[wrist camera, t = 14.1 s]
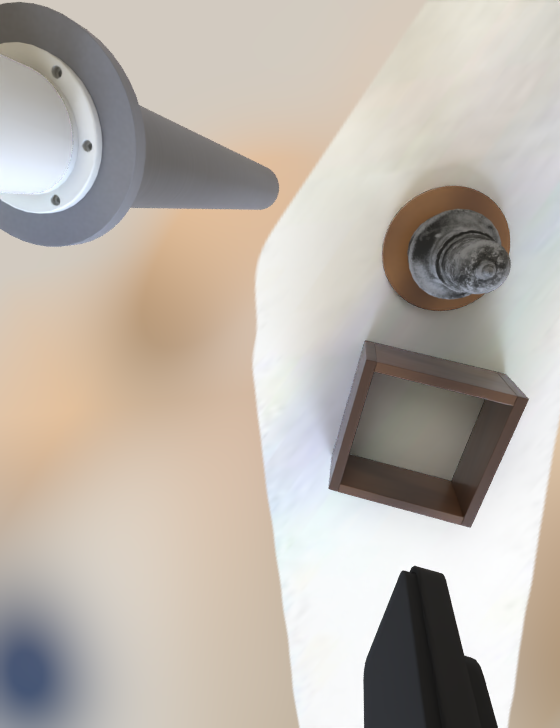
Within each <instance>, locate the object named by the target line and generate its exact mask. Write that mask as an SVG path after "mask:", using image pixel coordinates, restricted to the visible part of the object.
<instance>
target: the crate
mask: <svg viewBox="0 0 560 728" xmlns="http://www.w3.org/2000/svg"><path fill="white" fill-rule="evenodd" d="M374 372H377V373H381V374H385V375H389V376H393V377H397V378H401V379H406V380H410V381H414V382H418V383H422V384H426V385H430V386H434V387H438V388H442V389H446V390H450V391H454V392H458V393H462V394H467V395H471V396H475V397H479V398H483V399H485V401H484V404H483V406H482V409H481V411H480V413H479V416H478V418H477V421H476V423H475V425H474V428H473V430H472V433H471V435H470V438H469V440H468V442H467V445H466V447H465V450H464V452H463V455H462V457H461V459H460V462H459V464H458V467H457V469H456V471H455V474H454V476H453V479H452V481H449V480H445V479H441V478H438V477H434V476H430V475H426V474H422V473H419V472H415V471H411V470H407V469H404V468H400V467H396V466H392V465H388V464H385V463H381V462H377V461H373V460H369V459H366V458H362V457H358V456H354V455H350V454H349V453H350V450H351V446H352V443H353V440H354V436H355V433H356V430H357V426H358V423H359V420H360V416H361V413H362V410H363V406H364V403H365V400H366V397H367V393H368V390H369V387H370V383H371V380H372V377H373V373H374ZM528 400H529V399H528V398H527V397H526V395H525V394H524V393H523V392H522V391H521V390H520V389H519V388H518V387H517V386H516V385H515V383H514V382H513V381H512V380H511V379H510V378H509V377H508V376H507V375H506V374H503V373H499V372H495V371H491V370H486V369H482V368H478V367H474V366H470V365H466V364H461V363H457V362H453V361H449V360H445V359H441V358H436V357H432V356H428V355H424V354H420V353H416V352H411V351H407V350H403V349H399V348H395V347H391V346H386V345H382V344H378V343H374V342H370V341H365V342H364V345H363V349H362V352H361V356H360V359H359V363H358V366H357V370H356V373H355V377H354V380H353V384H352V387H351V391H350V395H349V398H348V402H347V405H346V409H345V412H344V416H343V419H342V423H341V426H340V430H339V433H338V437H337V440H336V444H335V447H334V451H333V454H332V459H331V469H330V479H329V489H330V490H334V491H338V492H341V493H344V494H348V495H352V496H355V497H359V498H363V499H366V500H370V501H374V502H377V503H381V504H385V505H389V506H392V507H396V508H400V509H403V510H407V511H411V512H414V513H418V514H422V515H425V516H429V517H433V518H436V519H440V520H444V521H447V522H451V523H455V524H458V525H462V526H466V527H470V528H471V526H472V524H473V521H474V519H475V517H476V515H477V513H478V510H479V508H480V506H481V504H482V502H483V499H484V497H485V495H486V493H487V490H488V488H489V486H490V484H491V482H492V479H493V477H494V475H495V473H496V471H497V468H498V466H499V464H500V462H501V460H502V457H503V455H504V453H505V451H506V449H507V446H508V444H509V442H510V440H511V438H512V435H513V433H514V431H515V429H516V427H517V424H518V422H519V420H520V418H521V415H522V413H523V411H524V409H525V407H526V404H527V402H528Z"/></svg>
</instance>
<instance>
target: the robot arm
mask: <svg viewBox="0 0 560 728" xmlns="http://www.w3.org/2000/svg"><path fill="white" fill-rule="evenodd" d="M91 145H92V149H91ZM101 157H102V132H101V126H100V121H99V117H98V113H97V110H96V108H95V105H94V103H93V100H92V98H91V96H90V94H89V92H88V91H87V89H86V87H85V86H84V84H83V82H82V81H81V80H80V79H79V77H78V76H77V75H76V74H75V72H74V71H73V70H72V69H71V68H70V67H69V66H67V65H66V64H65V63H64V62H63V61H62V60H60V59H59V58H57V57H56V56H54V55H52V54H50V53H49V52H47V51H45V50H43V49H40V48H38V47H36V46H34V45H31V44H25V43H20V42H10V43H2V44H0V199H1V200H2V201H3V202H5V203H7V204H9V205H10V206H12V207H14V208H17V209H20V210H23V211H25V212H31V213H39V214H41V213H55V212H60V211H64V210H66V209H68V208H70V207H72V206H74V205H75V204H76V203H78V202H79V201H80V200H81V199H82V198H84V196H85V195H86V194H87V192H88V191H89V190H90V188H91V187H92V185H93V183H94V181H95V179H96V177H97V174H98V171H99V167H100V163H101ZM364 728H498V726H497V723H496V719H495V715H494V712H493V708H492V704H491V701H490V697H489V693H488V690H487V686H486V682H485V679H484V675H483V673H482V670H481V667H480V665H479V664H478V662H477V661H476V660H475V659H473V658H471V657H467V656H464V653H463V649H462V645H461V641H460V636H459V632H458V628H457V624H456V620H455V616H454V612H453V608H452V603H451V599H450V595H449V591H448V587H447V583H446V579H445V576H444V575H443V574H442V573H438V572H435V571H431V570H428V569H424V568H421V567H417V566H413V567H412V568H411V570H410V572H407V571H402V572H401V573H400V576H399V578H398V581H397V583H396V586H395V588H394V591H393V593H392V596H391V598H390V601H389V603H388V606H387V608H386V611H385V613H384V616H383V618H382V621H381V623H380V626H379V628H378V631H377V633H376V636H375V638H374V641H373V643H372V646H371V648H370V651H369V653H368V656H367V659H366V662H365V668H364Z"/></svg>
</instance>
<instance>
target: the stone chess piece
mask: <svg viewBox="0 0 560 728" xmlns="http://www.w3.org/2000/svg"><path fill="white" fill-rule="evenodd" d="M407 255H408V263H409V269H410V272H411V274H412V277H413V279H414V280H415V282H416V283H417V285H418V286H419V287H420V288H421V289H422V290H424V291H425V292H426V293H428V294H429V295H432V296H434V297H437V298H441V299H450V300H451V299H459V298H463V297H466V296H469V295H471V294H483V293H488V292H490V291H493V290H495V289H496V288H498V287H499V286H500V285H501V284H502V283H503V282H504V281H505V280H506V278H507V276H508V275H509V271H510V258H509V254H508V253H507V251H506V250H505V248H504V247H503V246H501V240H500V236H499V233H498V231H497V229H496V228H495V226H494V225H493V223H492V222H491V221H490V220H489V219H487V218H486V217H485V216H484V215H482V214H480V213H477V212H475V211H472V210H466V209H454V210H448V211H444V212H442V213H440V214H437V215H435V216H433V217H432V218H430V219H428V220H426V221H425V222H424V223H422V224H421V225H420V226H419V227H418V228H417V229H416V231H415V232H414V233H413V235H412V237H411V239H410V242H409V246H408V251H407Z"/></svg>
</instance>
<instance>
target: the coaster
mask: <svg viewBox="0 0 560 728" xmlns="http://www.w3.org/2000/svg"><path fill="white" fill-rule="evenodd" d="M454 209H466V210H472V211H475V212H477V213H480V214H482V215H484V216H485V217H486V218H487V219H489V220H490V221H491V222H492V223H493V225H494V226H495V228H496V229H497V231H498V233H499V236H500V240H501V246H503V247H504V248H505V250H506V251H507V253H508V254H509V251H510V232H509V228H508V224H507V221H506V219H505V216H504V215H503V213H502V211H501V210H500V208H499V207H498V206H497V205H496V204H495V202H493V201H492V200H491V199H490V198H489V197H487V196H486V195H484V194H483V193H481V192H479V191H477V190H474V189H471V188H467V187H462V186H445V187H439V188H435V189H431V190H429V191H426V192H424V193H422V194H420V195H418V196H416V197H414V198H413V199H412V200H410V201H409V202H408V203H407V204H406V205H404V206H403V207H402V208H401V209H400V211H399V212H398V213H397V214H396V215H395V217H394V218H393V220H392V222H391V223H390V225H389V227H388V229H387V232H386V235H385V238H384V243H383V250H382V259H383V266H384V270H385V273H386V276H387V278H388V280H389V282H390V284H391V286H392V287H393V289H394V290H395V291H396V292H397V293H398V294H399V295H400V296H401V297H402V298H403V299H404V300H406V301H407V302H409V303H411V304H413V305H415V306H417V307H420V308H423V309H427V310H433V311H445V310H452V309H457V308H460V307H463V306H466V305H468V304H470V303H472V302H474V301H475V300H477V299H479V298H480V297H481V296H483V295H484V294H485V293H483V294H471V295H469V296H466V297H463V298H459V299H451V300H450V299H441V298H437V297H434V296H432V295H429V294H428V293H426V292H425V291H424V290H422V289H421V288H420V287H419V286H418V285H417V283H416V282H415V280H414V279H413V277H412V274H411V272H410V269H409V263H408V255H407V251H408V246H409V242H410V239H411V237H412V235H413V233H414V232H415V231H416V229H417V228H418V227H419V226H420V225H421V224H422V223H424V222H425V221H426V220H428V219H430V218H432V217H433V216H435V215H437V214H440V213H442V212H444V211H448V210H454Z"/></svg>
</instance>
